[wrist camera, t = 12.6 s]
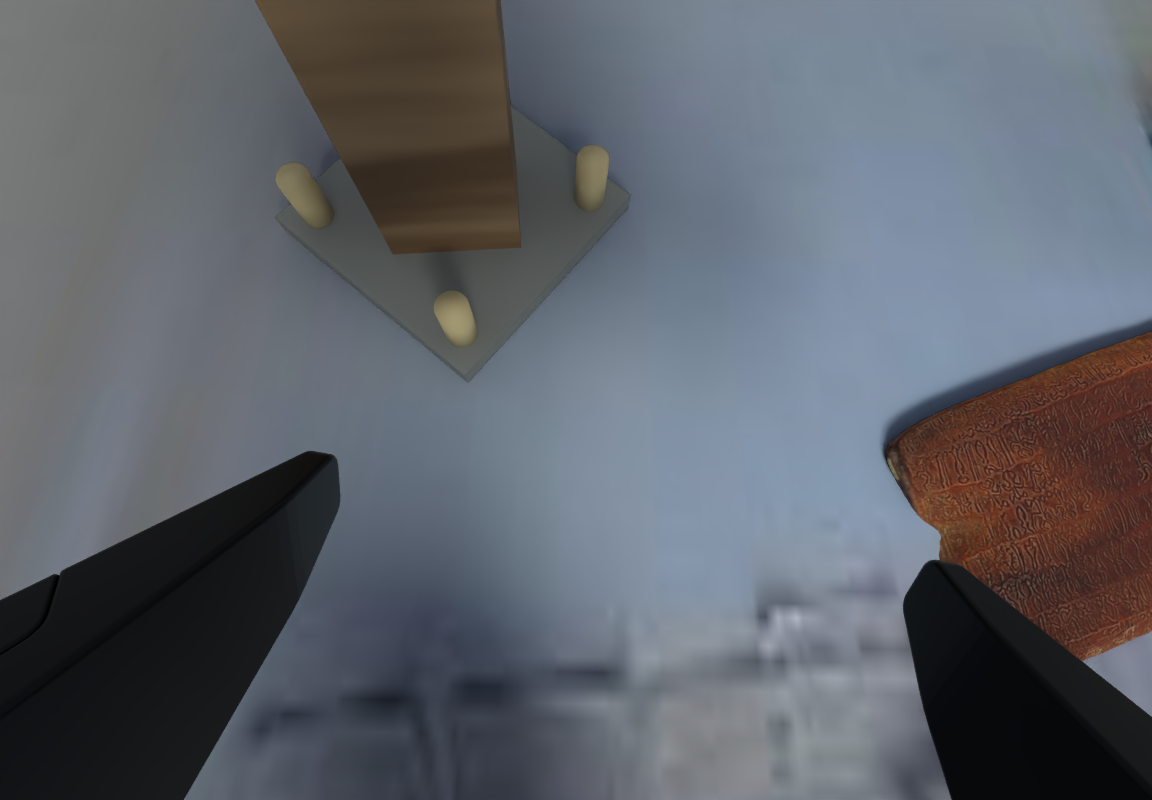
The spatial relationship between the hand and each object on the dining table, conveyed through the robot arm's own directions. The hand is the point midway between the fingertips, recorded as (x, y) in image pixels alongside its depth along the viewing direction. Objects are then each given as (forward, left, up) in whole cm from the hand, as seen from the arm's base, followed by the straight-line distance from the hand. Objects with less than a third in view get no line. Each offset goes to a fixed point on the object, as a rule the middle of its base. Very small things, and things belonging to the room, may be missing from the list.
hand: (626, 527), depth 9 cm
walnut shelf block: (+7, +12, -13) cm, 19 cm away
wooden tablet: (+19, -17, -14) cm, 29 cm away
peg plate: (+7, +12, -14) cm, 20 cm away
